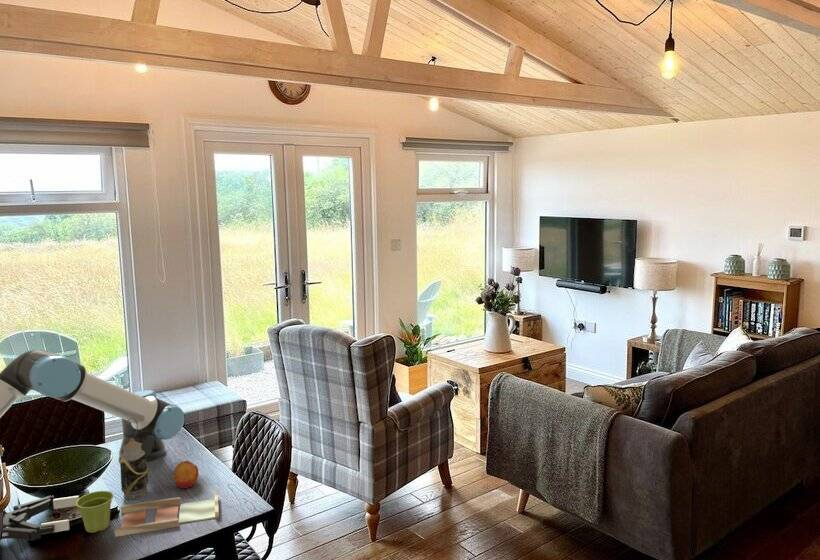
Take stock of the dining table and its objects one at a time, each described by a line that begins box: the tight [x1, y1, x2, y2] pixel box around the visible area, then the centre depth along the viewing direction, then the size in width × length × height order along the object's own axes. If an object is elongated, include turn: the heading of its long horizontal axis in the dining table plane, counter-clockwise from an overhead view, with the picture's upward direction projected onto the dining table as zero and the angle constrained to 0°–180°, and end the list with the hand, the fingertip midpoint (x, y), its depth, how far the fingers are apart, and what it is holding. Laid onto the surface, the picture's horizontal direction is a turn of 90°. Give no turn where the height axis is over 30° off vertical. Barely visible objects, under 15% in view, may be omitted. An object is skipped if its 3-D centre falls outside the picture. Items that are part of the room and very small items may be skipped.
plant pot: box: [75, 490, 114, 534], centre depth 176 cm, size 9×9×9 cm
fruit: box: [173, 460, 199, 489], centre depth 200 cm, size 8×8×8 cm
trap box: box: [114, 492, 220, 538], centre depth 182 cm, size 14×28×2 cm, turn 108°
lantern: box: [118, 418, 150, 500], centre depth 193 cm, size 9×8×25 cm
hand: (74, 512), depth 174 cm, fingers open, 13 cm apart
